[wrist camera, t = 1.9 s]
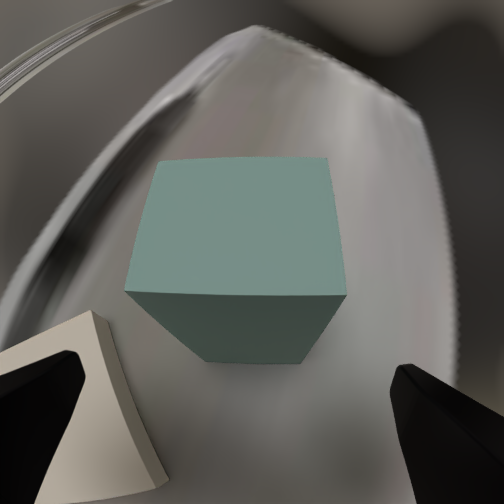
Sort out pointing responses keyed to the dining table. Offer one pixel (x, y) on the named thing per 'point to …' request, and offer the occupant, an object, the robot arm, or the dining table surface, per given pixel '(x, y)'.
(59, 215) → the dining table surface
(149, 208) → the teal block
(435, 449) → the robot arm
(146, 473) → the plate
